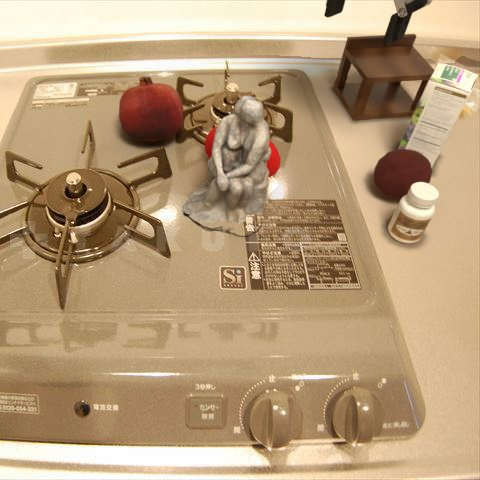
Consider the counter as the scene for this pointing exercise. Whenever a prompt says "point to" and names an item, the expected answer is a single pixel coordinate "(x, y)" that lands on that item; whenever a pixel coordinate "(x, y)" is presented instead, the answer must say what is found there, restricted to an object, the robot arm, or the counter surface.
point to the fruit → (150, 111)
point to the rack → (381, 77)
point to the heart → (272, 162)
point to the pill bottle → (413, 213)
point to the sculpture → (234, 169)
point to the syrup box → (438, 110)
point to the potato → (401, 172)
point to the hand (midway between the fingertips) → (361, 27)
